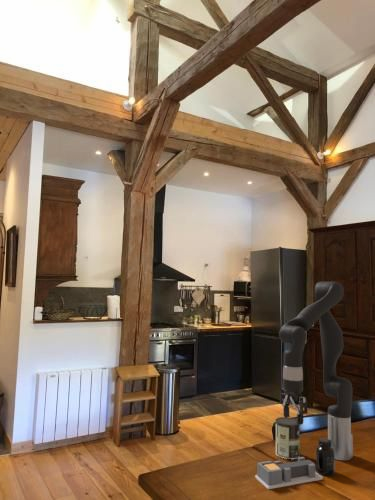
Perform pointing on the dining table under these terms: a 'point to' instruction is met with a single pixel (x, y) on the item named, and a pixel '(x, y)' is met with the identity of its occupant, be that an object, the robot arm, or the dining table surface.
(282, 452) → the coffee can
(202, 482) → the dining table surface
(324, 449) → the supplement bottle
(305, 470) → the grey orange bar
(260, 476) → the white grey holder tray
